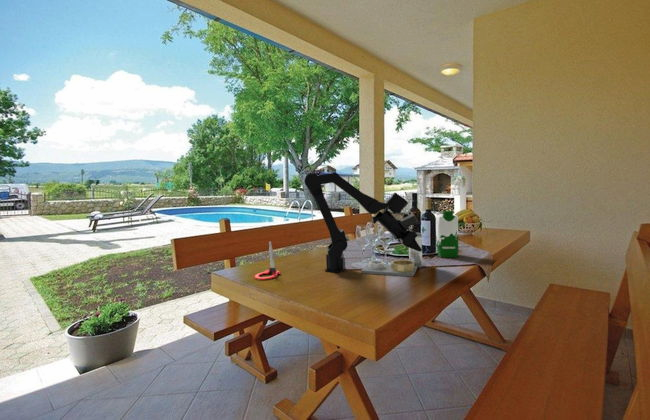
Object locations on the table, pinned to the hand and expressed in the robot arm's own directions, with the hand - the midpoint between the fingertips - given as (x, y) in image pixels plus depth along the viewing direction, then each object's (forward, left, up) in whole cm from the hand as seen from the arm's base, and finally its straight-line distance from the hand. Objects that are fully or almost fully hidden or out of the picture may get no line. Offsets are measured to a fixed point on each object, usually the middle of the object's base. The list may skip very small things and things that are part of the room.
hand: (418, 249), depth 128 cm
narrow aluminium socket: (-15, -10, -7) cm, 19 cm away
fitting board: (-10, -10, -7) cm, 16 cm away
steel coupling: (-1, -1, -7) cm, 7 cm away
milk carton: (+10, +20, -7) cm, 24 cm away
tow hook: (-52, -29, -7) cm, 60 cm away
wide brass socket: (-5, -10, -7) cm, 13 cm away
